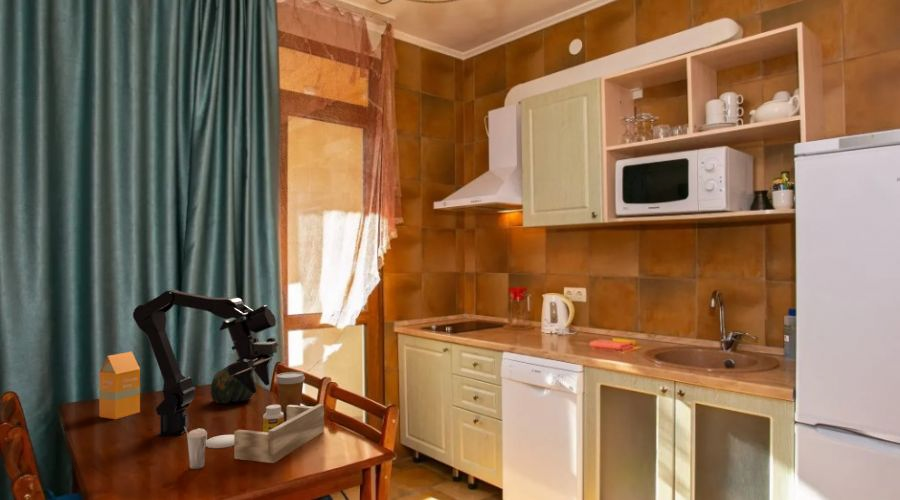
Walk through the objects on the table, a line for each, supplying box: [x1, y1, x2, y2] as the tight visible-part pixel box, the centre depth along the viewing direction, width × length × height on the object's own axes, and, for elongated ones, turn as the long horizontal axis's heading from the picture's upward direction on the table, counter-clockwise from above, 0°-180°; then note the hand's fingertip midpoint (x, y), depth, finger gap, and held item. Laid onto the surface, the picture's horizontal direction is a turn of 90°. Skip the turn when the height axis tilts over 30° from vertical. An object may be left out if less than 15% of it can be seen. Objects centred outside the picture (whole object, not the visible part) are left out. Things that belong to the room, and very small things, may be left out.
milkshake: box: [184, 427, 208, 470], centre depth 136 cm, size 4×5×10 cm
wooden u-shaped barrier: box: [233, 403, 325, 464], centre depth 152 cm, size 12×26×8 cm, turn 164°
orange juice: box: [98, 351, 141, 420], centre depth 181 cm, size 8×9×20 cm
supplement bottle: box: [262, 404, 285, 432], centre depth 153 cm, size 6×6×10 cm
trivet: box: [206, 434, 234, 449], centre depth 154 cm, size 10×10×1 cm
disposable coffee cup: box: [275, 371, 306, 414], centre depth 184 cm, size 10×10×12 cm
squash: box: [210, 362, 254, 405], centre depth 196 cm, size 14×15×15 cm
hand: (261, 388), depth 161 cm, fingers open, 9 cm apart
